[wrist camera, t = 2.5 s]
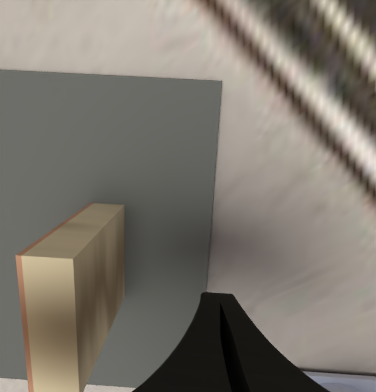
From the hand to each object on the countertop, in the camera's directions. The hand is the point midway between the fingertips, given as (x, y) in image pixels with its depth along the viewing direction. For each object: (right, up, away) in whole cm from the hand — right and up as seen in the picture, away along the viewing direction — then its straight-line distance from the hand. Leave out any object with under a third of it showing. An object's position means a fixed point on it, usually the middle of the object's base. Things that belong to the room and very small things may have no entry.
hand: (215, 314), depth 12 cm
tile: (-6, +2, +5) cm, 8 cm away
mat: (-8, +2, +6) cm, 10 cm away
